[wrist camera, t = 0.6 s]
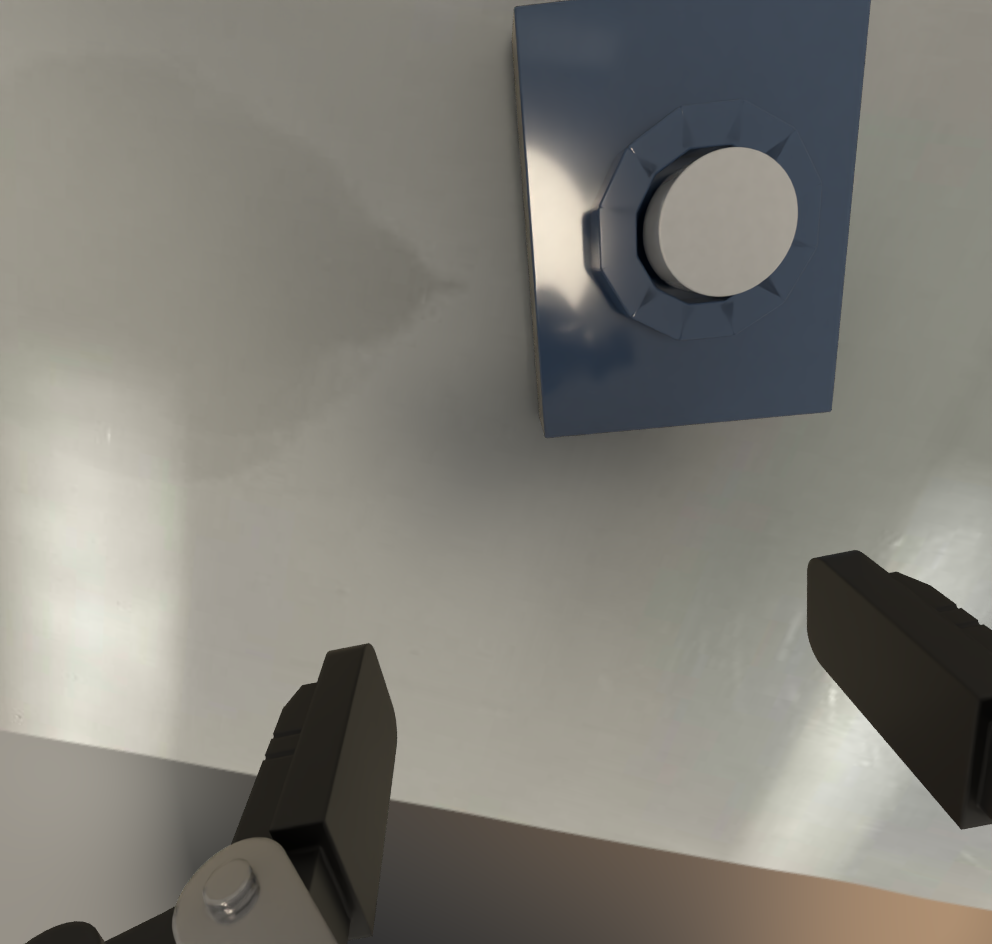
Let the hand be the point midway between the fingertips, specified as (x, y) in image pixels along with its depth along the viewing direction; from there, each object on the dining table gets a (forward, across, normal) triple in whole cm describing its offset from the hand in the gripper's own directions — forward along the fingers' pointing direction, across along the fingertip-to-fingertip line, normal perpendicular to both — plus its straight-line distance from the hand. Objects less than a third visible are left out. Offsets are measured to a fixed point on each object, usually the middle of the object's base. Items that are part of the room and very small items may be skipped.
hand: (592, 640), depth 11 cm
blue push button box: (+16, -7, -6) cm, 18 cm away
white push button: (+11, -7, -6) cm, 15 cm away
